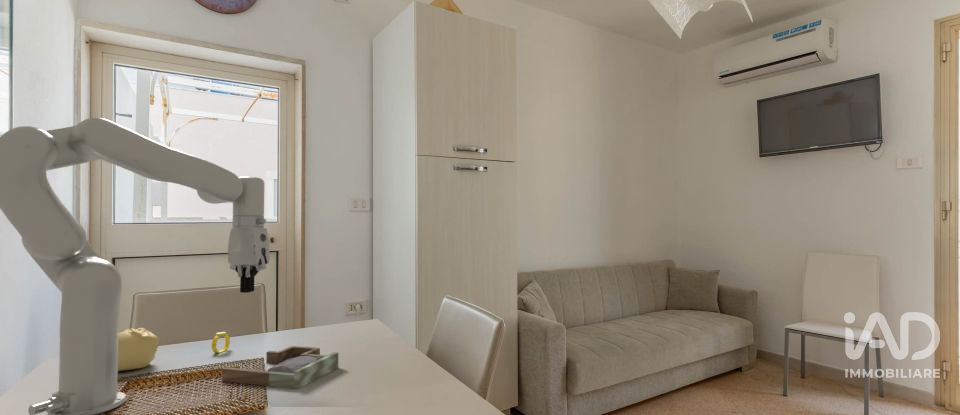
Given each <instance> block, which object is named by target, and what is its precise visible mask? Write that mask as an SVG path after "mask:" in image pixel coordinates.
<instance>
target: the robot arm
mask: <svg viewBox="0 0 960 415" xmlns="http://www.w3.org/2000/svg"><path fill="white" fill-rule="evenodd" d="M98 160H102V161H104V162H106V163H108V164H109V163H110V164H111V165H114V166H116V167H120V168H122V169H124V170H128V172H132V173H134V174H136V175H138V176H140V177H141V176H142V177H144V178H146V179H149V180H154V181H155V182H157V181H158V182H164V183H172V184H177V185H181V186H184V187H188V188H190V189H192V190H196V194H197V195H198V197H199V198H200V199H201V200H202V201H203V202H205V203H208V204H213V205H215V204H216V205H217V204H226V203H227V204H229V203H232V228H231V229H230V232H229V236H228V237H229V238H228V243H227V244H228V247H227V262H228V264H229V269H230V270H233V271H235V272H236V273H237V275H238V278H240V281H239V282H240V283H239V284H240V285H239V286H240V287H239V288H240V289H239V292H240V293H245V294H247V293H253V292H255V277H257V276H258V273H259V272H260V271H263V270H266V269H267V267H266V265H268V264H270V258H271V257H270V254H271V253H270V240H269V233H268V230H267V228H266V227H265V224H266V223H267V220H266V218H265V217H264V216H265V181H264V180H263V179H262V178H260V177H255V176H237V174H236V173H234V172H232V171H230V170H228V169H226V168H224V167H221V166H220V165H217V164H215V163H213V162H210V161H209V160H207V159H204V158H200V157H198V156H195V155H193V154H189V153H186V152H183V151H181V150H178V149H176V148H171V147H169V146H167V145H164V144H162V143H160V142H157V141H155V140H153V139H151V138H149V137H146V136H144V135H142V134H139V133H138V132H136V131H133V130H131V129H130V128H127V127H124V126H122V124H121V125H120V124H118V123H116V122H114V121H112V120H109V119H106V118H102V117H96V116H94V117H88V118H86V119H84V120H82V121H80V122H79V123H77V125H71V126H66V127H61V128H57V129H56V128H55V129H49V130H44V129H42V128H40V127H35V126H30V125H29V126H27V125H23V126H18V127H14V128H11V129H9V130H8V131H5V132H4V133H3V134H1V135H0V210H1V211H2V213H3V214H4V216H5V217H6V218H7V220H8V221H9V223H10V224H11V225H12V226H13V227H14V229H15V230H16V231H17V233H18V234H19V235H20V237H21V243H22V245H23V247H24V249H25V251H26V252H27V253H28V254H29V256H30V257H31V258H32V260H34V261H35V263H36V264H37V266H38V267H39V268H40V269H41V271H43V273H44V274H45V275H46V277H48V279H49V280H50V281H51V282H52V283H53V284H54V286H55V287H56V289H58V290H59V291H60V292H61V305H60V307H61V308H60V316H59V317H60V319H59V358H58V360H59V364H58V365H59V366H58V370H59V371H58V391H55V392H52V393H51V394H52V396H51V397H50V398H48V399H47V400H45V401H43V402H37V403H35V404H32V405H30V406H29V407H28V410H27V411H28V414H29V415H38V414H40V413H44V412H46V413H47V415H98V414H103V413H106V412H108V411H111V410H113V409H115V408H118V407H119V406H122V405H123V404H125V402H126V400H127V394H126V393H124V392H120V391H118V373H119V371H118V333H119V317H120V316H119V315H120V302H121V296H122V295H121V294H122V289H123V288H122V285H123V284H122V283H123V281H122V276H121V273H120V271H119V269H118V267H116V266H115V265H114V263H112V262H110V261H108V260H106V259H103V258H101V257H100V255H99V254H98V252H96V250H95V249H94V247H93V246H92V245H91V243H90V242H89V240H88V239H87V232H86V230H85V228H84V227H83V225H82V224H81V223H80V222H79V221H78V220H77V219H76V217H74V215H73V214H72V213H71V211H70V210H69V209H68V208H67V206H66V205H65V204H64V203H63V202H62V201H61V199H60V198H59V196H58V195H57V193H56V191H55V190H54V188H53V187H52V186H51V184H50V182H49V179H48V178H47V171H51V170H52V171H53V170H56V169H61V168H62V169H63V168H68V167H72V166H77V165H81V164H83V165H84V164H87V163H90V162H95V161H98Z"/></svg>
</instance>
